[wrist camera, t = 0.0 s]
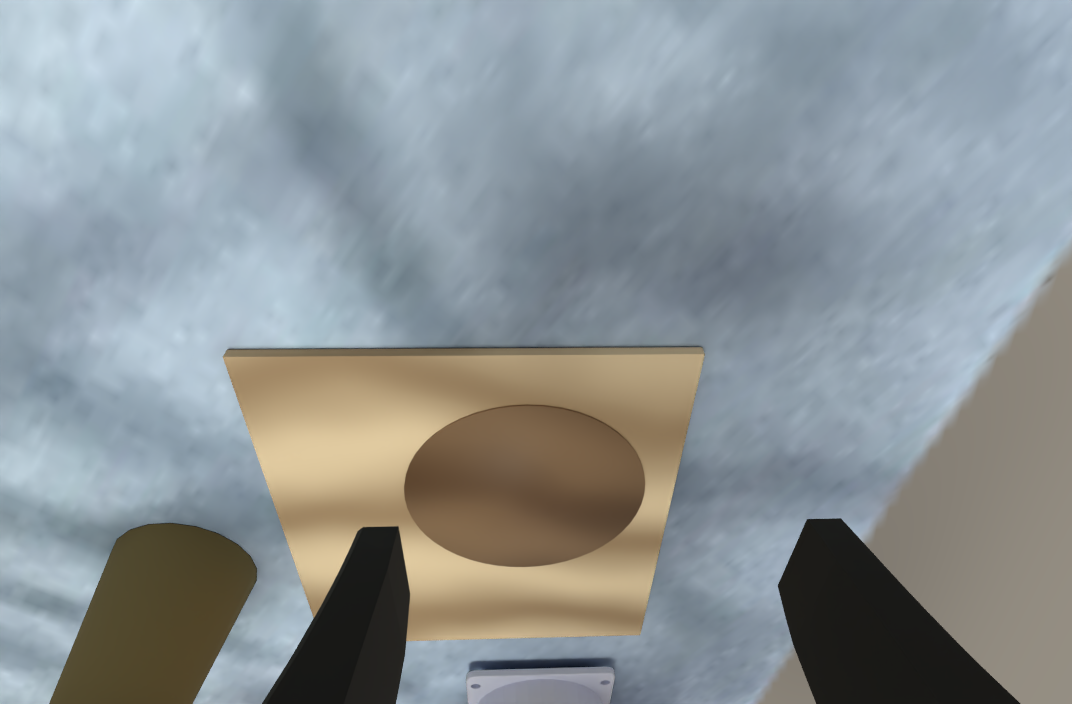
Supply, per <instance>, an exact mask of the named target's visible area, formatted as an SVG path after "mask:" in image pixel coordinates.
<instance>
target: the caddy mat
mask: <svg viewBox="0 0 1072 704" xmlns="http://www.w3.org/2000/svg"><path fill="white" fill-rule="evenodd" d="M704 356H705V353H704V351H703V349H702V347H653V348H455V349H257V350H227V351H226V353H225V354H224V356H223V359H224V362H225V364H226V367H227V370H228V373H229V376H230V379H231V382H232V385H233V387H234V390H235V393H236V396H237V399H238V402H239V405H240V408H241V410H242V413H243V416H244V419H245V422H246V425H247V428H248V430H249V433H250V436H251V439H252V442H253V445H254V448H255V451H256V453H257V456H258V459H259V462H260V465H261V468H262V471H263V473H264V476H265V479H266V482H267V485H268V488H269V491H270V494H271V496H272V499H273V502H274V505H275V508H276V511H277V514H278V516H279V519H280V522H281V525H282V528H283V531H284V534H285V537H286V539H287V542H288V545H289V548H290V551H291V554H292V557H293V559H294V562H295V565H296V568H297V571H298V574H299V577H300V580H301V582H302V585H303V588H304V591H305V594H306V597H307V600H308V602H309V605H310V608H311V611H312V614H313V617H315V615H316V614H317V612H318V610H319V608H320V607H321V605H322V603H323V601H324V599H325V597H326V595H327V593H328V592H329V590H330V588H331V586H332V584H333V582H334V580H335V578H336V576H337V574H338V572H339V570H340V568H341V566H342V564H343V562H344V560H345V558H346V556H347V554H348V552H349V549H350V547H351V545H352V543H353V540H354V538H355V536H356V534H357V531H359V530H360V529H361V528H362V527H388V526H399V531H400V537H401V543H402V549H403V554H404V560H405V566H406V572H407V578H408V583H409V589H410V604H409V615H408V627H407V638H406V641H426V640H465V639H504V638H543V637H582V636H621V635H640V633H641V629H642V624H643V620H644V616H645V611H646V607H647V603H648V598H649V594H650V590H651V585H652V581H653V577H654V572H655V568H656V564H657V559H658V555H659V551H660V546H661V542H662V538H663V533H664V529H665V525H666V520H667V516H668V512H669V507H670V503H671V499H672V494H673V490H674V486H675V481H676V477H677V473H678V468H679V464H680V460H681V455H682V451H683V447H684V442H685V438H686V434H687V429H688V425H689V421H690V417H691V412H692V408H693V404H694V399H695V395H696V391H697V386H698V382H699V378H700V373H701V369H702V365H703V360H704Z"/></svg>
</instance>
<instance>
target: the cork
mask: <svg viewBox="0 0 1072 704" xmlns="http://www.w3.org/2000/svg"><path fill="white" fill-rule="evenodd" d="M256 578H257V568H256V566H255V565H254V563H253V561H252V559H251V557H250V556H249V555H248V554H247V553H246V552H245V551H244V550H243V549H242V548H241V547H240V546H239V545H237V544H236V543H234V542H232V541H230V540H229V539H227V538H225V537H223V536H221V535H219V534H217V533H214V532H211V531H208V530H205V529H201V528H198V527H195V526H188V525H180V524H173V523H167V524H148V525H145V526H142V527H138V528H135V529H131V530H129V531H128V532H126V533H125V534H123V535H122V536H121V537H119V538H118V539H117V540H116V542H115V545H114V547H113V549H112V551H111V554H110V556H109V559H108V561H107V564H106V566H105V568H104V571H103V573H102V576H101V578H100V581H99V583H98V586H97V588H96V590H95V593H94V595H93V598H92V600H91V603H90V605H89V608H88V610H87V613H86V615H85V617H84V620H83V622H82V625H81V627H80V630H79V632H78V635H77V637H76V639H75V642H74V644H73V647H72V649H71V652H70V654H69V657H68V659H67V661H66V664H65V666H64V669H63V671H62V674H61V676H60V679H59V681H58V684H57V686H56V688H55V691H54V693H53V696H52V698H51V701H50V703H49V704H193V702H194V700H195V698H196V696H197V694H198V692H199V690H200V688H201V686H202V684H203V682H204V681H205V679H206V677H207V675H208V673H209V671H210V669H211V667H212V665H213V663H214V661H215V659H216V658H217V656H218V654H219V652H220V650H221V648H222V646H223V644H224V642H225V640H226V638H227V636H228V635H229V633H230V631H231V629H232V627H233V625H234V623H235V621H236V619H237V617H238V615H239V613H240V612H241V610H242V608H243V606H244V604H245V602H246V600H247V598H248V596H249V594H250V592H251V590H252V589H253V587H254V585H255V583H256Z"/></svg>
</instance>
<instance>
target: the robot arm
mask: <svg viewBox="0 0 1072 704" xmlns="http://www.w3.org/2000/svg"><path fill="white" fill-rule="evenodd" d="M778 588H779V592H780V596H781V600H782V604H783V608H784V612H785V616H786V620H787V624H788V627H789V631H790V634H791V638H792V641H793V645H794V647H795V650H796V653H797V655H798V658H799V661H800V663H801V665H802V668H803V671H804V673H805V676H806V678H807V681H808V683H809V686H810V689H811V691H812V694H813V696H814V699H815V701H816V704H1020V703H1019V702H1018V701H1017V700H1016V699H1015V698H1014V697H1013V696H1012V695H1011V694H1010V693H1008V691H1007V690H1005V689H1004V688H1003V687H1002V686H1001V685H1000V684H999V683H998V682H997V681H996V680H995V679H994V678H993V677H992V676H991V675H990V674H989V673H988V672H987V671H986V670H984V669H983V668H982V667H981V666H980V665H979V664H978V663H977V662H976V661H975V660H974V659H973V658H972V657H971V656H970V655H969V654H968V653H967V652H966V651H965V650H964V649H963V648H962V647H961V646H960V645H959V644H958V643H957V642H956V641H955V640H954V639H953V638H952V637H951V636H950V634H948V632H947V631H946V630H944V629H943V627H942V626H941V625H940V624H939V623H938V622H937V621H936V620H935V619H934V618H933V617H932V616H931V615H930V614H929V613H928V612H927V611H926V610H925V609H924V608H923V607H922V606H921V605H920V603H919V602H918V601H917V600H916V599H915V598H914V597H913V596H912V595H911V594H910V593H909V592H908V591H907V590H906V589H905V587H903V586H902V584H901V583H900V582H899V581H898V580H897V579H896V578H895V577H894V576H893V575H892V574H891V572H890V571H889V570H888V569H887V568H886V567H885V566H884V565H883V564H882V563H881V562H880V560H879V559H878V558H877V557H876V556H875V555H874V554H873V553H872V552H871V551H870V550H869V548H868V547H867V546H866V545H865V544H864V543H863V542H862V541H861V540H860V539H859V538H858V536H857V535H856V534H855V533H854V532H853V531H852V530H851V529H850V528H849V527H848V526H847V525H846V524H845V522H844V521H843V520H842V519H807V521H806V523H805V525H804V528H803V530H802V532H801V534H800V537H799V539H798V541H797V544H796V546H795V548H794V550H793V553H792V555H791V557H790V559H789V562H788V564H787V566H786V568H785V571H784V573H783V575H782V578H781V580H780V582H779V584H778ZM409 604H410V589H409V583H408V578H407V572H406V566H405V560H404V554H403V549H402V543H401V537H400V531H399V526H388V527H362V528H361V529H360V530H359V531H357V534H356V536H355V538H354V540H353V543H352V545H351V547H350V549H349V552H348V554H347V556H346V558H345V560H344V562H343V564H342V566H341V568H340V570H339V572H338V574H337V576H336V578H335V580H334V582H333V584H332V586H331V588H330V590H329V592H328V593H327V595H326V597H325V599H324V601H323V603H322V605H321V607H320V608H319V610H318V612H317V614H316V615H315V617H314V619H313V621H312V622H311V624H310V626H309V628H308V629H307V631H306V633H305V635H304V636H303V638H302V640H301V642H300V643H299V645H298V647H297V649H296V650H295V652H294V654H293V655H292V657H291V659H290V660H289V662H288V664H287V665H286V667H285V668H284V670H283V671H282V673H281V675H280V676H279V678H278V679H277V681H276V682H275V684H274V686H273V687H272V689H271V690H270V692H269V693H268V695H267V697H266V698H265V700H264V701H263V703H262V704H396V700H397V694H398V689H399V684H400V678H401V673H402V668H403V662H404V657H405V648H406V638H407V627H408V615H409ZM614 680H615V673H614V669H612V668H611V667H573V668H537V669H501V670H473V671H470V672H468V673H467V675H466V687H467V698H468V704H610V699H611V695H612V690H613V685H614Z"/></svg>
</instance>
